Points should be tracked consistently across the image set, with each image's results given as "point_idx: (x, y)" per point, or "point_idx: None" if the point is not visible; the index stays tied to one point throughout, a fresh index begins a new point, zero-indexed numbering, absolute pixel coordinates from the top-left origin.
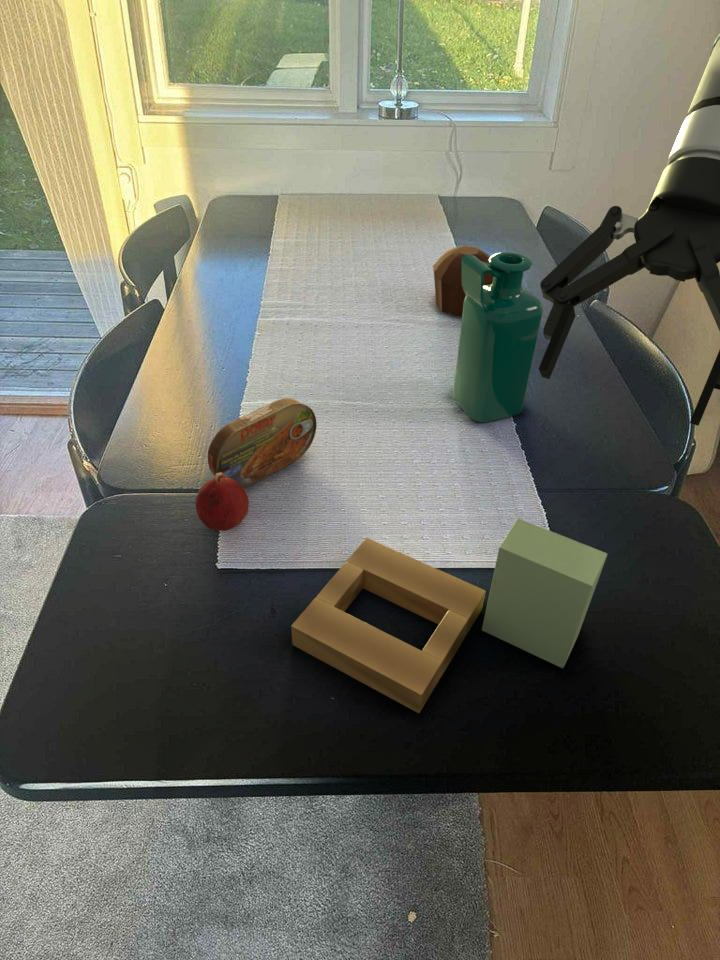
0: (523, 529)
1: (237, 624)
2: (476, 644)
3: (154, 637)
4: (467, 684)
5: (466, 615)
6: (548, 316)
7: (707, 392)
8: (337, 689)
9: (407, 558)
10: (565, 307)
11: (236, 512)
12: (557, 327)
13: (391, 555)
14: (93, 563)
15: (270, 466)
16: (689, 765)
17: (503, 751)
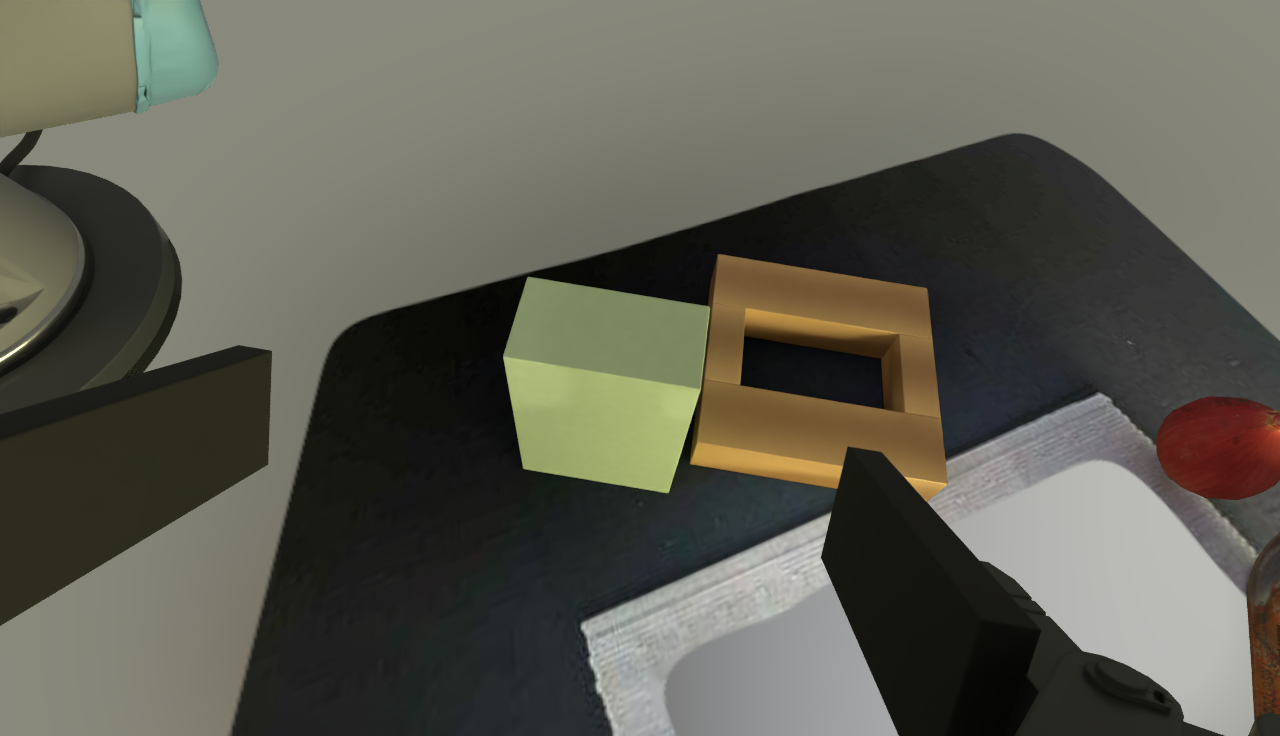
0: (680, 362)
1: (993, 319)
2: None
3: (1061, 273)
4: None
5: (709, 383)
6: (1055, 626)
7: (179, 371)
8: None
9: None
10: (1014, 612)
11: (1178, 423)
12: (950, 540)
13: None
14: (1244, 340)
15: (1272, 660)
16: (362, 322)
17: (598, 272)
